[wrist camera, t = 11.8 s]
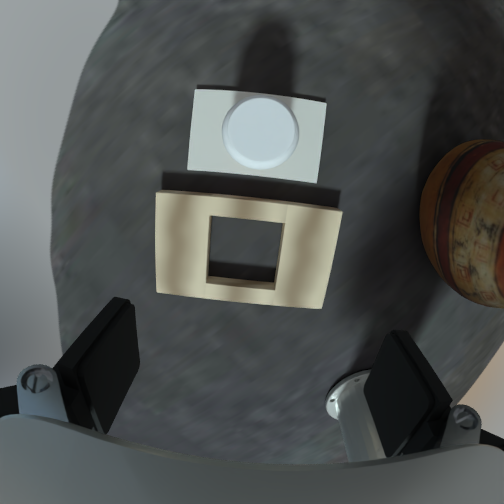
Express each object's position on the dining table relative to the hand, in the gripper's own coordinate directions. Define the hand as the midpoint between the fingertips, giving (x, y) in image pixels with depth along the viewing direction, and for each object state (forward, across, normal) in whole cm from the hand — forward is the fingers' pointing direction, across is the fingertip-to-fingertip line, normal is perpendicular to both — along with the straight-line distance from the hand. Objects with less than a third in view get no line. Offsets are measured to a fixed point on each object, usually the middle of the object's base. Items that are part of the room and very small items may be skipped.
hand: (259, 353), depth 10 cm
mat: (+24, +2, -9) cm, 25 cm away
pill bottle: (+23, +1, -9) cm, 25 cm away
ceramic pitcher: (+25, -28, -5) cm, 37 cm away
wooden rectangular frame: (+24, +1, +4) cm, 24 cm away
